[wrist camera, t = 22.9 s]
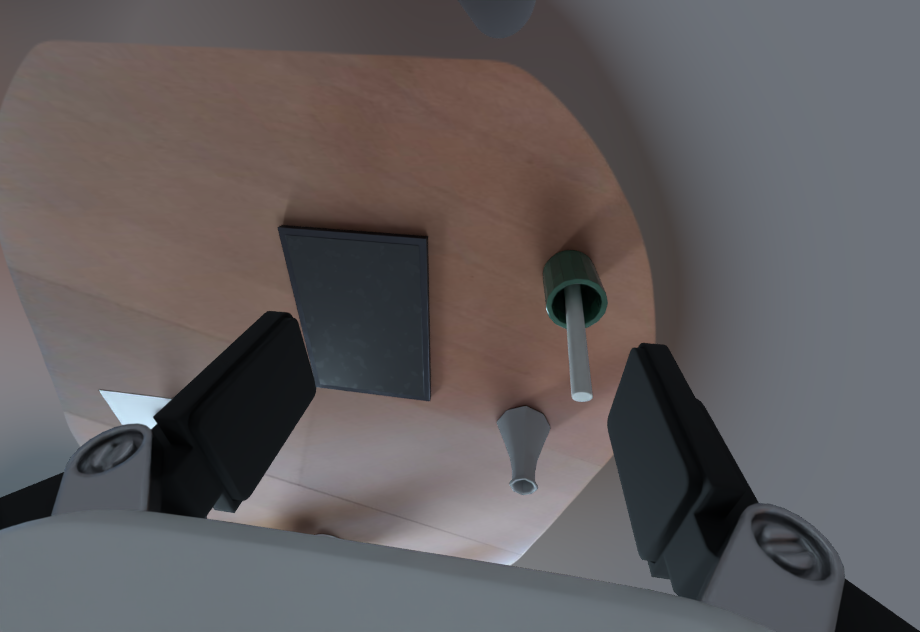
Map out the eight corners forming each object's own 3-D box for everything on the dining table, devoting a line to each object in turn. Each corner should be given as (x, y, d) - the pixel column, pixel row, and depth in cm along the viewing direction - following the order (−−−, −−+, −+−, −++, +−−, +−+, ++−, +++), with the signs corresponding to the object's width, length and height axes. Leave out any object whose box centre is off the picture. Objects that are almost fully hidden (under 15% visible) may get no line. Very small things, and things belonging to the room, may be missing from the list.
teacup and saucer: (206, 448, 68) (189, 467, 64) (167, 442, 68) (148, 461, 65) (188, 414, 63) (169, 433, 59) (147, 409, 64) (125, 427, 60)
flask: (520, 447, 55) (519, 511, 47) (487, 419, 53) (481, 481, 45) (559, 427, 52) (566, 492, 44) (526, 397, 50) (527, 459, 41)
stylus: (564, 264, 38) (574, 391, 29) (580, 265, 38) (595, 393, 28) (561, 275, 39) (569, 400, 30) (576, 276, 39) (589, 403, 30)
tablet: (281, 224, 41) (276, 227, 41) (428, 236, 40) (426, 239, 39) (319, 383, 54) (315, 387, 53) (431, 396, 52) (429, 402, 52)
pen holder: (546, 247, 38) (551, 276, 33) (599, 252, 38) (614, 281, 32) (539, 293, 41) (542, 326, 35) (588, 297, 41) (599, 332, 35)
